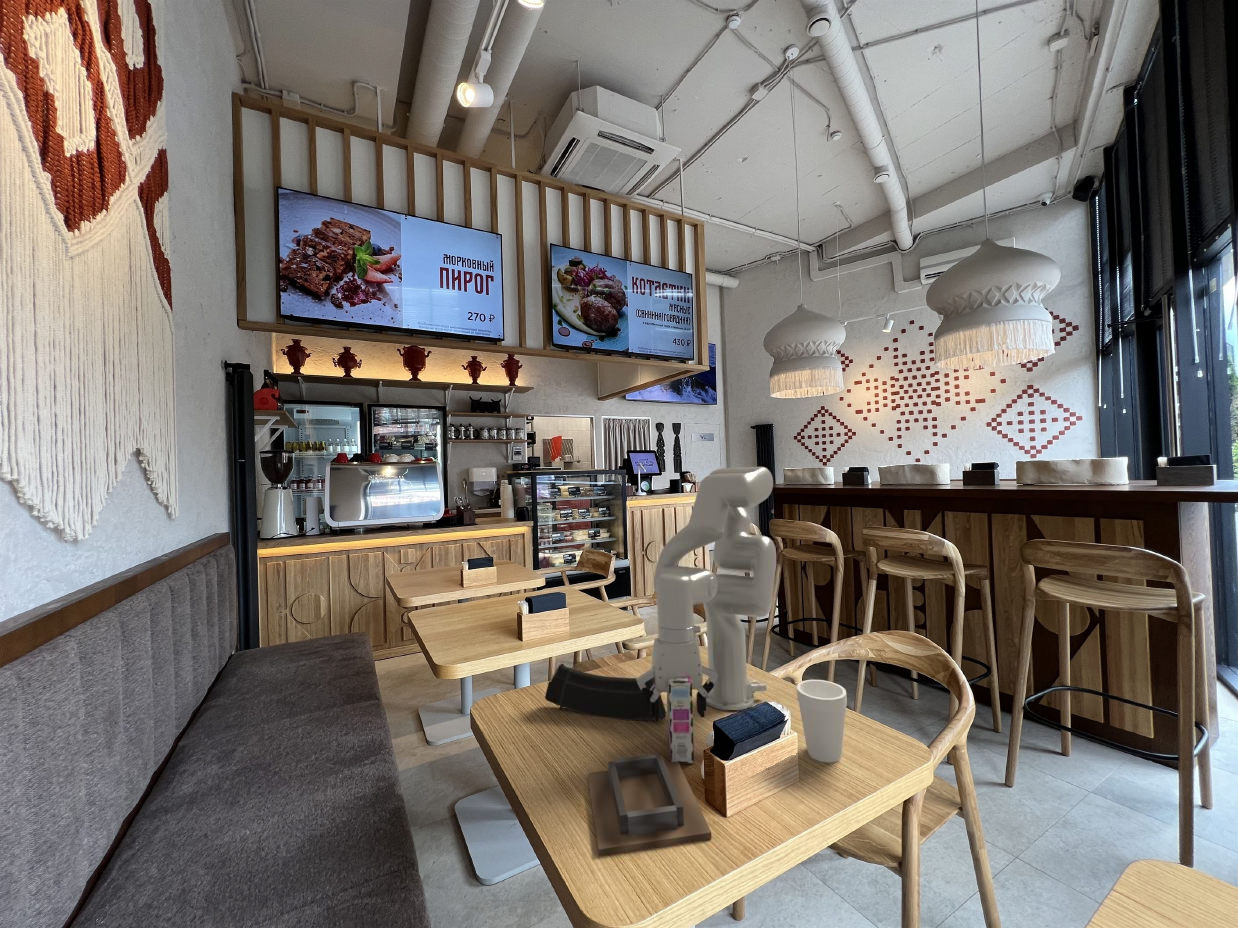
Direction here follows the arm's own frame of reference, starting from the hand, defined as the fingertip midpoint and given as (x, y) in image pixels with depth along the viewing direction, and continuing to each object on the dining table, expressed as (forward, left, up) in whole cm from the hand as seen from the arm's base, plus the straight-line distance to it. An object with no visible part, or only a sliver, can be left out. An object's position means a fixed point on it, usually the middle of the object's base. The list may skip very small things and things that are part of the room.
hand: (678, 716), depth 104 cm
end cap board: (+11, +15, -8) cm, 19 cm away
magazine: (+13, -20, -8) cm, 26 cm away
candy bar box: (-1, -1, -8) cm, 8 cm away
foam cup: (-28, +7, -8) cm, 30 cm away
